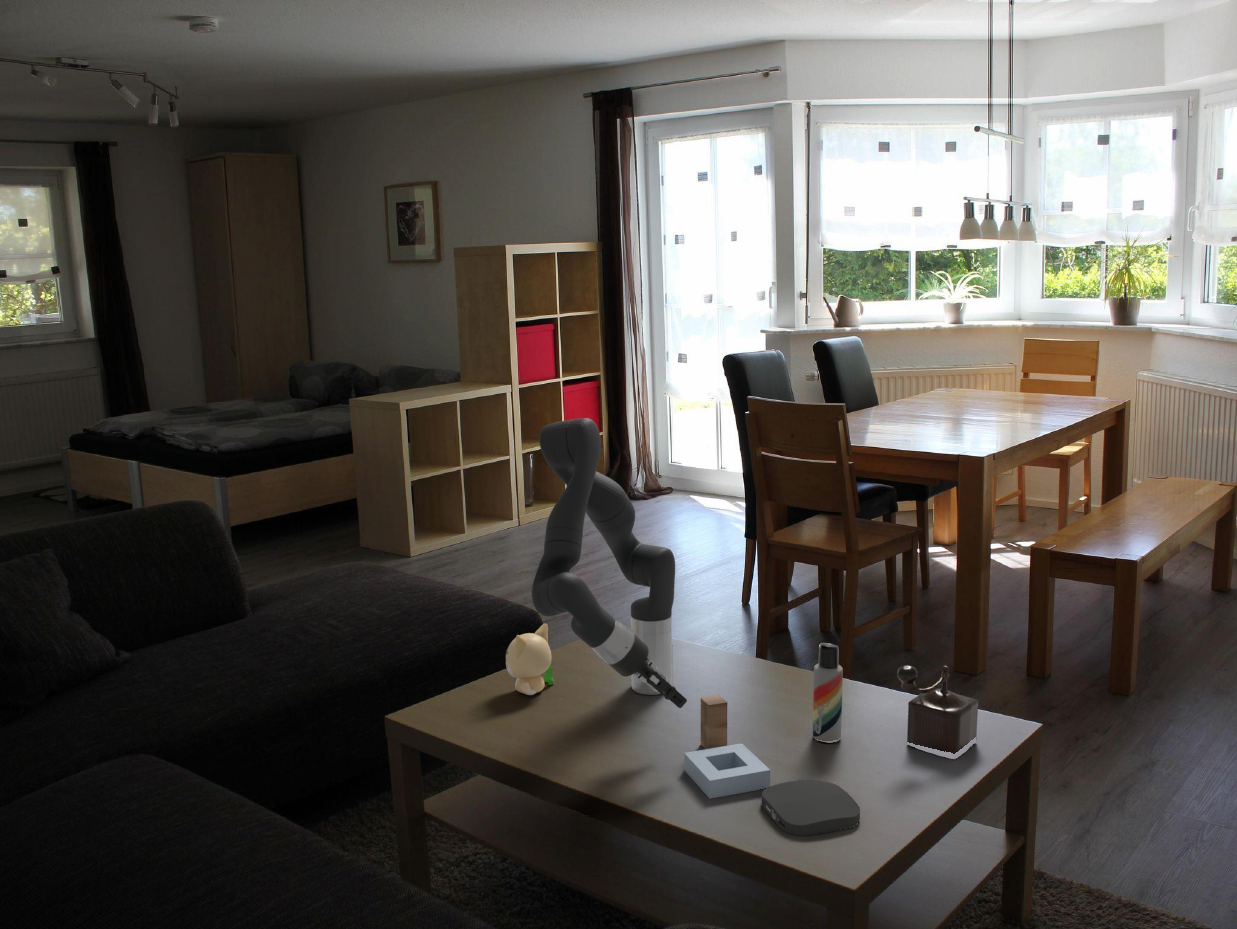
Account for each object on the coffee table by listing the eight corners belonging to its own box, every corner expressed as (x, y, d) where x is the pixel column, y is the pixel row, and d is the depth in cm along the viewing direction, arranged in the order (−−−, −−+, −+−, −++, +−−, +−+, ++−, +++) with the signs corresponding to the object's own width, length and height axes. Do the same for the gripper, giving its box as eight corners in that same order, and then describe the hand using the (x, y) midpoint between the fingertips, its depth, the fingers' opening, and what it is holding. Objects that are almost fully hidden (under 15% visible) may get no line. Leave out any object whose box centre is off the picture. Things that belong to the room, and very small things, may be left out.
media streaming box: (868, 827, 182) (868, 811, 182) (789, 841, 178) (790, 824, 177) (828, 789, 196) (828, 773, 195) (754, 800, 192) (754, 785, 191)
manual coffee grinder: (926, 728, 220) (929, 645, 217) (977, 743, 213) (982, 657, 210) (889, 753, 209) (892, 666, 206) (943, 770, 202) (947, 680, 199)
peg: (700, 744, 214) (700, 697, 212) (718, 741, 215) (719, 694, 213) (708, 753, 210) (708, 705, 209) (727, 749, 212) (727, 702, 210)
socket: (684, 770, 203) (684, 752, 202) (741, 760, 207) (741, 743, 206) (709, 798, 192) (709, 780, 191) (770, 787, 196) (770, 769, 195)
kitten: (535, 676, 252) (533, 615, 249) (568, 685, 246) (567, 622, 243) (492, 696, 240) (490, 632, 237) (526, 706, 234) (524, 641, 231)
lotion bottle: (807, 738, 216) (808, 644, 213) (822, 729, 220) (824, 637, 217) (831, 746, 212) (833, 650, 209) (846, 737, 216) (848, 643, 213)
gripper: (644, 643, 196) (702, 694, 202) (619, 620, 210) (674, 668, 215) (617, 674, 195) (676, 725, 201) (594, 649, 209) (649, 697, 214)
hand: (675, 695), depth 208 cm, fingers open, 8 cm apart
